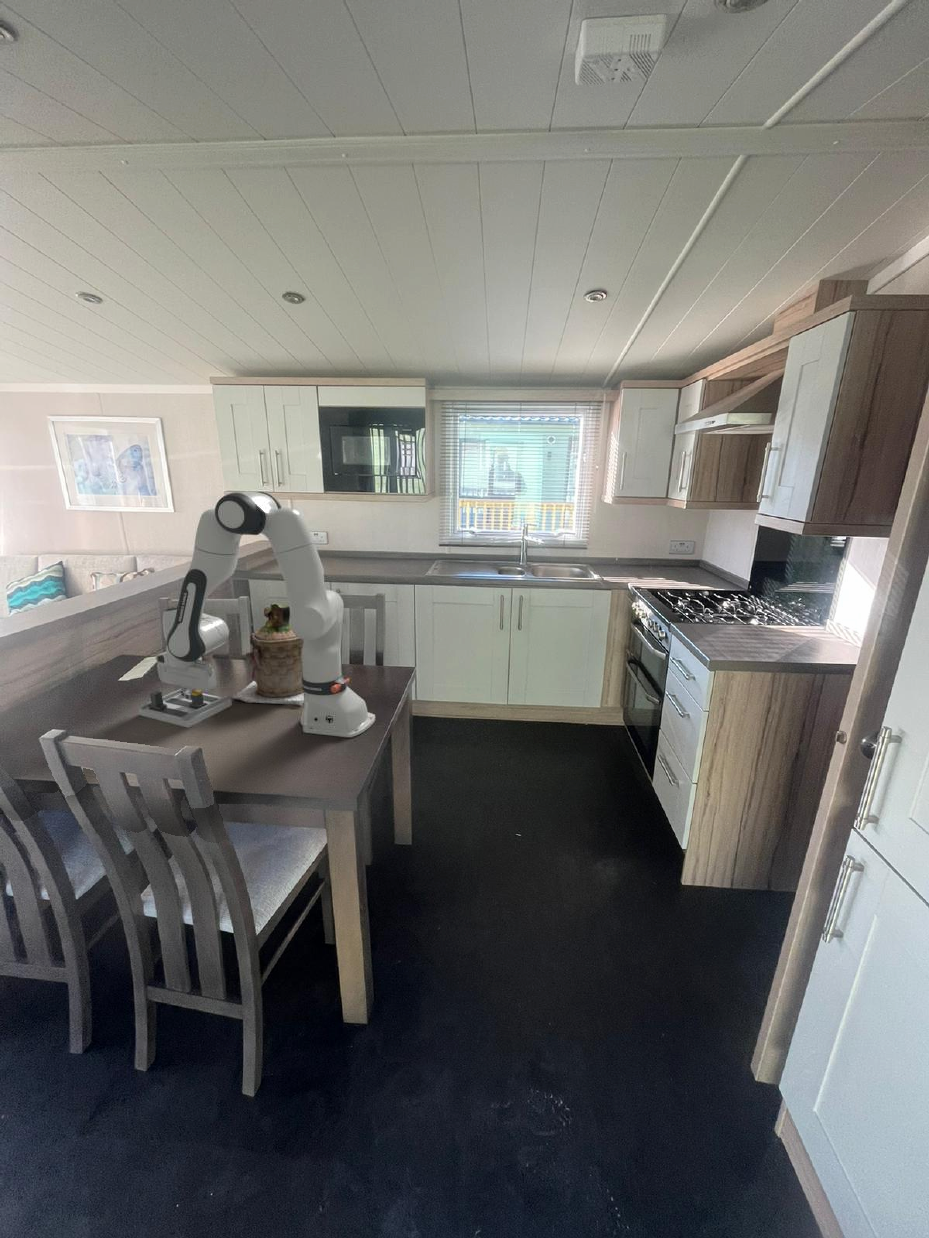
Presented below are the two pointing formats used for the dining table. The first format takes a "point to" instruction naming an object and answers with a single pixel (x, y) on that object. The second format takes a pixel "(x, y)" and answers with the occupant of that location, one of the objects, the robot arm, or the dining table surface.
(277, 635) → the cookie jar
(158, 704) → the breaker left
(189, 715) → the panel
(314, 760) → the dining table surface
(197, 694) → the breaker middle
